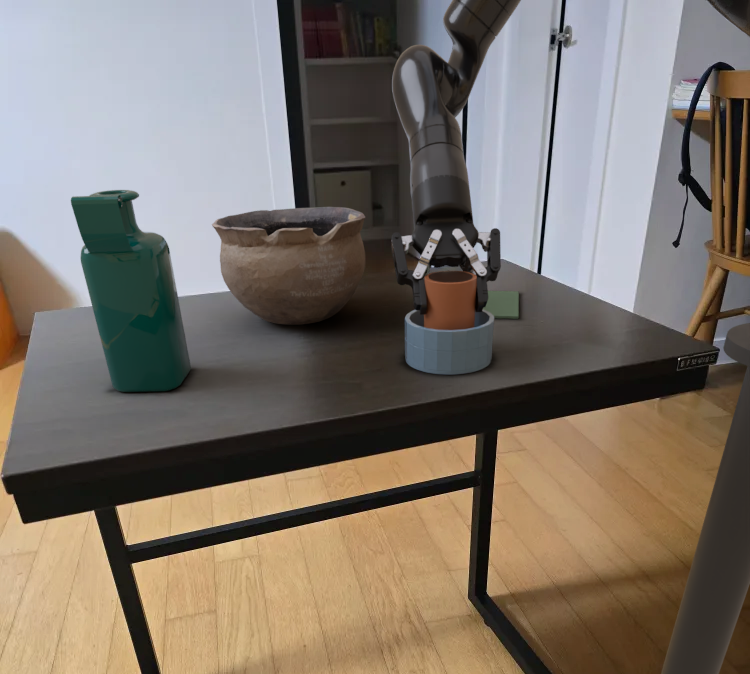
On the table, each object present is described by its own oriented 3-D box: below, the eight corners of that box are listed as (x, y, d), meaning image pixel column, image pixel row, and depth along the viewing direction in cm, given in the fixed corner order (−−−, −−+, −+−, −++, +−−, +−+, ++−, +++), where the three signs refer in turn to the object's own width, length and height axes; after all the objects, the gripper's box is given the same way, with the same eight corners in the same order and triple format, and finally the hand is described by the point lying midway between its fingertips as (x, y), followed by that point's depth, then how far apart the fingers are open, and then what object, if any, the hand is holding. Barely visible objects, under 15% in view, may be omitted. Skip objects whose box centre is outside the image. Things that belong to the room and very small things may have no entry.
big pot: (492, 345, 91) (495, 305, 88) (489, 376, 82) (492, 332, 79) (411, 343, 93) (411, 303, 90) (399, 372, 84) (399, 329, 81)
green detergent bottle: (131, 368, 88) (88, 185, 76) (195, 367, 88) (161, 183, 76) (104, 398, 80) (51, 198, 68) (174, 397, 79) (134, 195, 68)
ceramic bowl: (239, 348, 93) (223, 234, 85) (217, 307, 111) (202, 210, 103) (388, 327, 99) (386, 219, 91) (344, 292, 117) (339, 198, 109)
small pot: (474, 347, 90) (478, 270, 84) (471, 364, 84) (475, 283, 79) (426, 345, 91) (427, 269, 85) (420, 362, 85) (421, 282, 80)
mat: (518, 293, 113) (518, 291, 112) (518, 318, 101) (518, 316, 101) (435, 292, 115) (435, 289, 115) (426, 316, 103) (426, 313, 103)
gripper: (385, 174, 82) (395, 297, 79) (501, 170, 83) (516, 291, 79) (383, 213, 90) (392, 327, 86) (489, 209, 90) (503, 322, 87)
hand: (451, 310), depth 83 cm, fingers closed on small pot, 6 cm apart
